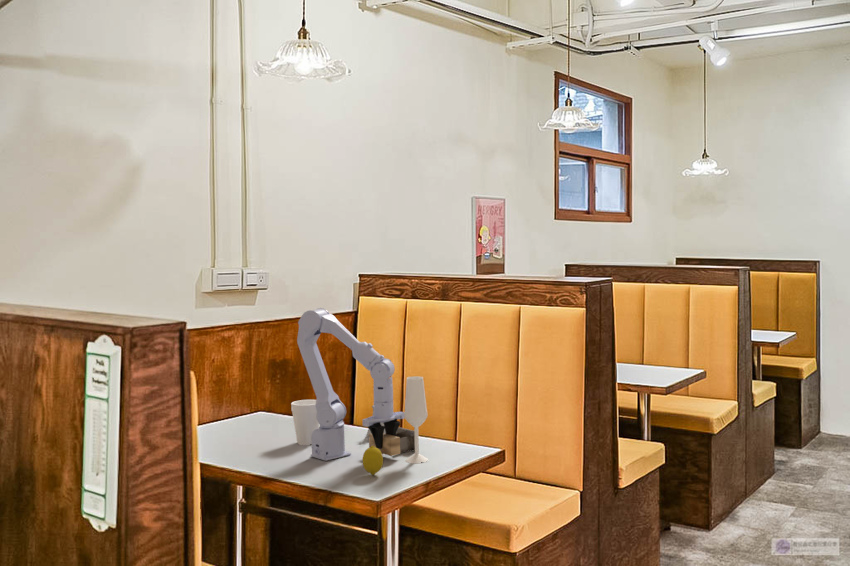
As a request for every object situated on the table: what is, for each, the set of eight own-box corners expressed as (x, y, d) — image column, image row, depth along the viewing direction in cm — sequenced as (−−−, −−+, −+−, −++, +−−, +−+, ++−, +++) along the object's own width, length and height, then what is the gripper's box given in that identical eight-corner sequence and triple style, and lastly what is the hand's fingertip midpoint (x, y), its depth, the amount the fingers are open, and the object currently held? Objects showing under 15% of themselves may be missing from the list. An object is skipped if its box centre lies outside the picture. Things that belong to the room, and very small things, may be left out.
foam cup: (325, 444, 246) (324, 403, 246) (296, 447, 243) (295, 406, 242) (318, 437, 255) (316, 398, 255) (290, 441, 252) (288, 401, 251)
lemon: (383, 471, 214) (382, 443, 213) (383, 477, 208) (382, 448, 208) (363, 472, 214) (362, 443, 213) (362, 478, 208) (361, 448, 208)
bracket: (403, 454, 231) (402, 434, 231) (381, 449, 238) (381, 429, 238) (417, 450, 235) (417, 431, 235) (396, 445, 242) (395, 426, 242)
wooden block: (400, 453, 226) (399, 437, 226) (391, 455, 224) (390, 439, 224) (378, 447, 234) (377, 431, 233) (369, 450, 231) (368, 434, 231)
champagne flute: (402, 458, 227) (400, 377, 226) (423, 456, 229) (421, 375, 228) (410, 464, 220) (407, 380, 219) (432, 461, 223) (430, 378, 222)
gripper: (373, 406, 220) (374, 453, 221) (410, 399, 230) (411, 444, 231) (357, 403, 225) (358, 449, 226) (395, 396, 235) (396, 440, 236)
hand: (384, 446), depth 229 cm, fingers closed on wooden block, 3 cm apart
